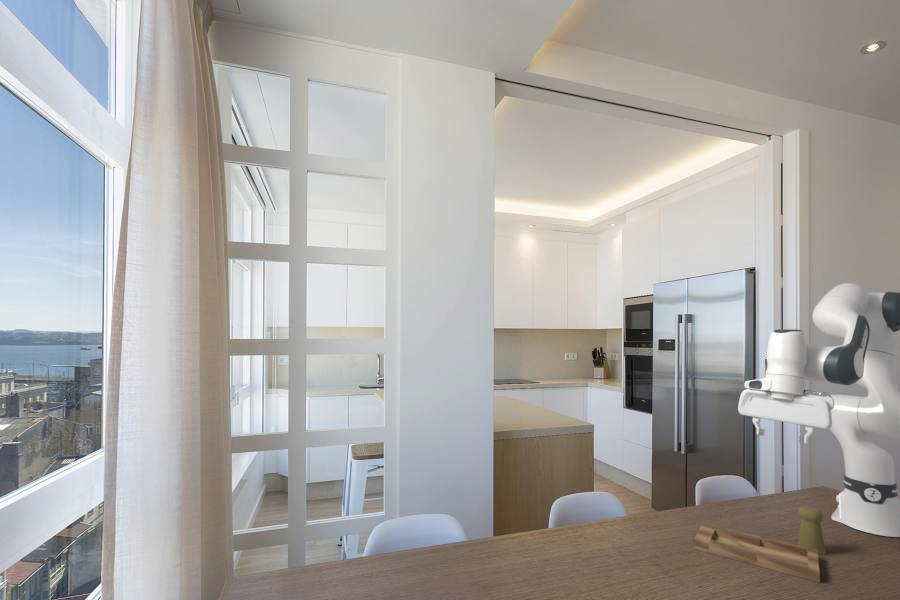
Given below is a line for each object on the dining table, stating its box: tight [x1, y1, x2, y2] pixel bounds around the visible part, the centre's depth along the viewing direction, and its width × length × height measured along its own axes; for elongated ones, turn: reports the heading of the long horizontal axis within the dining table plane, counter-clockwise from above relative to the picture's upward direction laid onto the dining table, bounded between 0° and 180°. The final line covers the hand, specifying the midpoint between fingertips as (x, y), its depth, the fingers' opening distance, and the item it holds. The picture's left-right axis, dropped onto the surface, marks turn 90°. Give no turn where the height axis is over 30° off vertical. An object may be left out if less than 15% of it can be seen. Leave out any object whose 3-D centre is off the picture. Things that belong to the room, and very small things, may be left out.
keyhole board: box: [693, 522, 821, 583], centre depth 118 cm, size 14×26×2 cm, turn 53°
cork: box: [797, 505, 827, 556], centre depth 121 cm, size 6×6×11 cm
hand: (781, 439), depth 120 cm, fingers open, 8 cm apart
